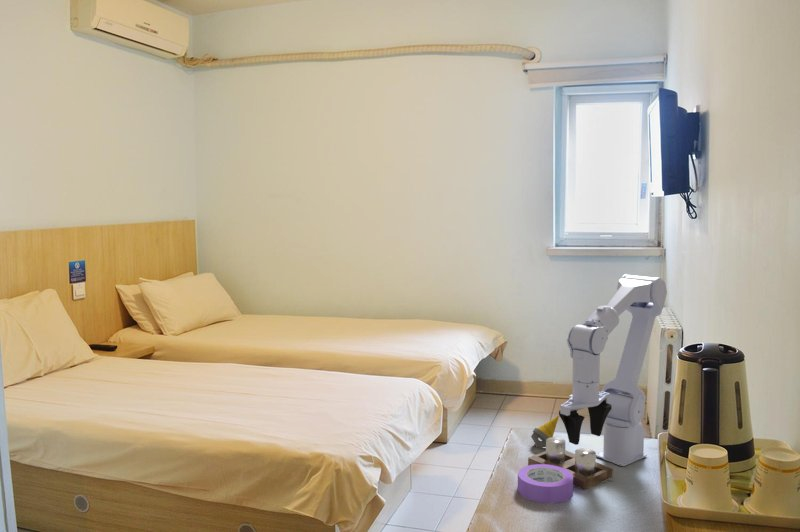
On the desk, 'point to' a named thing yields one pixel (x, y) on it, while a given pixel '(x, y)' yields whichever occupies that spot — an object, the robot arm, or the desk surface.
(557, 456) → the billet
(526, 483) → the masking tape
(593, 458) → the billet
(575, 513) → the desk surface
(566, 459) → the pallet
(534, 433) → the drill bit
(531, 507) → the desk surface
